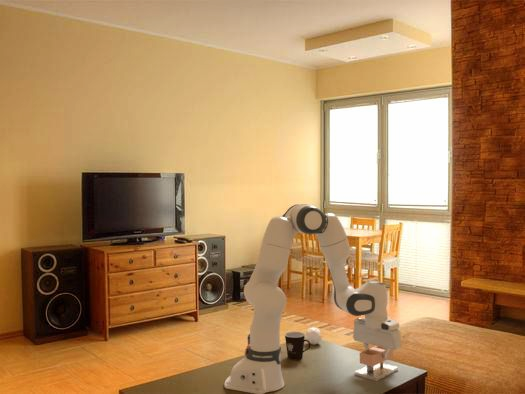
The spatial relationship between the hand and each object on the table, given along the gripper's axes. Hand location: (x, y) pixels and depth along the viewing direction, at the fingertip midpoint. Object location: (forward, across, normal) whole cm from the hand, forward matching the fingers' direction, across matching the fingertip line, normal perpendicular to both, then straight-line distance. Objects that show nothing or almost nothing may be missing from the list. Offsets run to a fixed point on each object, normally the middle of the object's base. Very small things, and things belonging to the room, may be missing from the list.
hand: (376, 356), depth 212 cm
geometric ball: (+7, -42, +13) cm, 44 cm away
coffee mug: (+7, -34, -8) cm, 36 cm away
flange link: (+2, 0, 0) cm, 2 cm away
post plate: (+6, 0, 0) cm, 7 cm away
